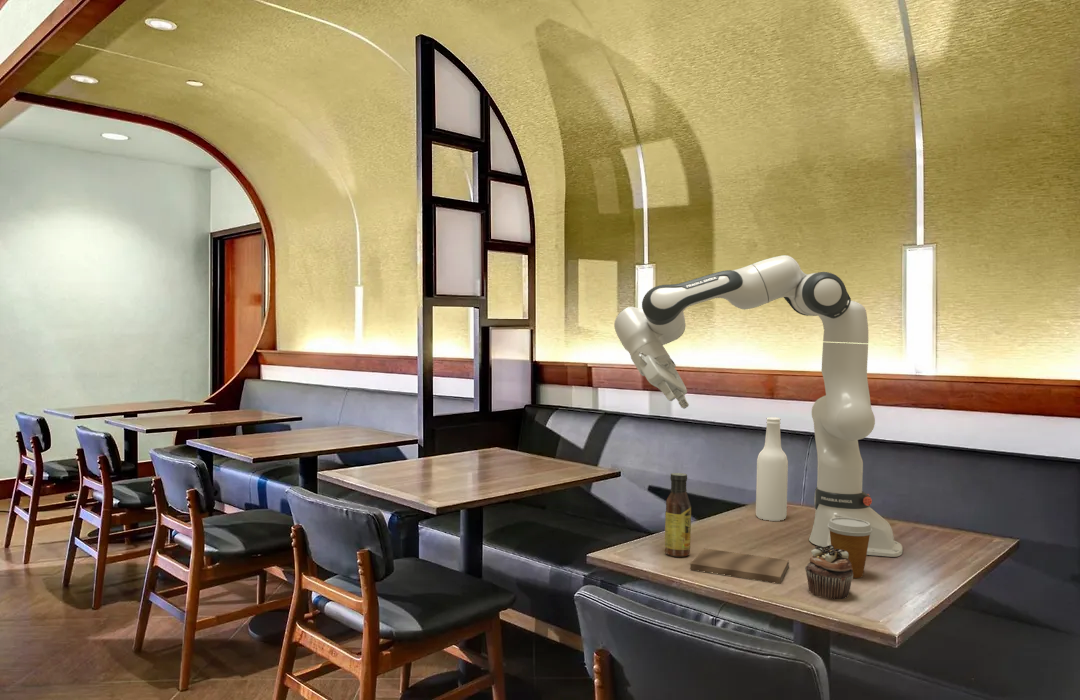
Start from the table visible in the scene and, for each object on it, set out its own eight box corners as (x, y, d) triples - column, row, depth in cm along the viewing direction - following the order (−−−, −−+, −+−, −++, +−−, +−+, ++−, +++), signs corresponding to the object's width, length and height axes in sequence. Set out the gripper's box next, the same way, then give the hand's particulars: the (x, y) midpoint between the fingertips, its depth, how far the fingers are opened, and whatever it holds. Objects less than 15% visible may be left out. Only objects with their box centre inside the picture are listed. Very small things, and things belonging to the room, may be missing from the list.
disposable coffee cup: (879, 579, 171) (881, 526, 171) (840, 581, 169) (842, 527, 169) (855, 566, 180) (856, 516, 180) (818, 568, 179) (819, 517, 178)
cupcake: (862, 595, 161) (863, 548, 160) (835, 604, 155) (836, 555, 155) (822, 582, 168) (823, 537, 168) (795, 590, 163) (796, 544, 163)
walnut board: (788, 566, 180) (788, 560, 180) (780, 583, 167) (780, 577, 167) (704, 554, 188) (704, 548, 188) (690, 570, 175) (690, 563, 175)
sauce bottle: (690, 559, 184) (692, 477, 184) (664, 556, 185) (665, 475, 185) (690, 551, 191) (692, 472, 190) (665, 549, 192) (666, 471, 191)
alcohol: (773, 513, 232) (775, 415, 232) (792, 520, 224) (795, 419, 223) (749, 515, 229) (752, 416, 228) (768, 522, 221) (771, 419, 220)
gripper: (646, 342, 188) (674, 386, 181) (675, 363, 205) (702, 404, 198) (626, 357, 190) (653, 402, 183) (657, 376, 207) (682, 417, 200)
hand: (679, 403), depth 191 cm, fingers open, 8 cm apart
